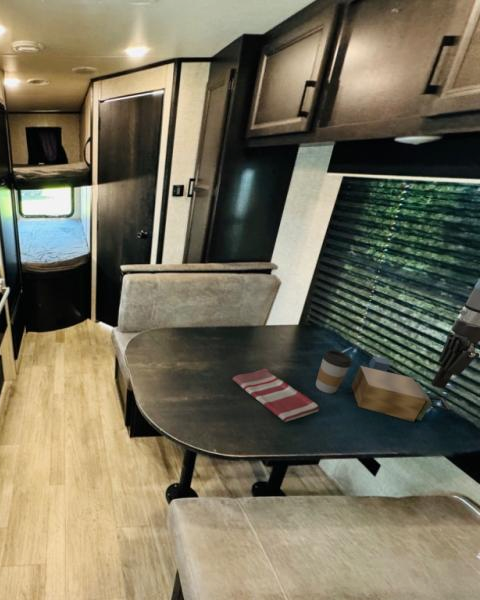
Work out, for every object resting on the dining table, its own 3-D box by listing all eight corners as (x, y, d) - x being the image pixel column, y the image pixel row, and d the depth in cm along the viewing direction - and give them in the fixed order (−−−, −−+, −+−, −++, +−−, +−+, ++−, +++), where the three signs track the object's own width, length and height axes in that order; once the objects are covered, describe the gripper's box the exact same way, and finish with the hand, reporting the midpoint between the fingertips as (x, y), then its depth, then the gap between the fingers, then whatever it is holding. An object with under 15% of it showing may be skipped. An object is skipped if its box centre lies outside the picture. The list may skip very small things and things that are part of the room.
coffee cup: (314, 378, 125) (327, 346, 119) (340, 388, 120) (355, 355, 113) (309, 388, 120) (322, 355, 114) (336, 399, 114) (351, 365, 108)
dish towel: (263, 371, 129) (265, 366, 128) (319, 411, 109) (322, 405, 108) (231, 380, 124) (232, 375, 123) (283, 424, 104) (285, 418, 103)
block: (382, 368, 131) (387, 359, 129) (386, 374, 128) (390, 364, 126) (368, 364, 133) (372, 355, 131) (371, 370, 130) (375, 361, 128)
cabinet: (401, 398, 114) (412, 377, 110) (413, 421, 104) (426, 399, 100) (351, 386, 121) (360, 365, 117) (358, 406, 111) (368, 385, 107)
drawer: (434, 405, 110) (444, 388, 107) (448, 428, 101) (461, 409, 98) (361, 387, 119) (369, 370, 116) (369, 406, 110) (377, 388, 107)
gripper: (448, 311, 100) (414, 371, 110) (468, 329, 90) (430, 394, 99) (481, 317, 97) (444, 378, 106) (507, 336, 86) (463, 402, 96)
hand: (437, 385), depth 103 cm, fingers closed
